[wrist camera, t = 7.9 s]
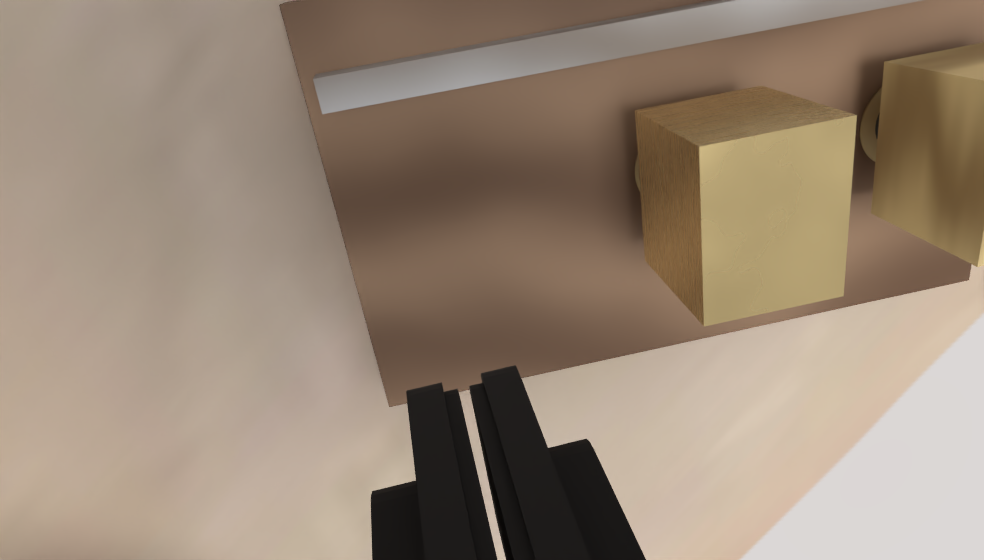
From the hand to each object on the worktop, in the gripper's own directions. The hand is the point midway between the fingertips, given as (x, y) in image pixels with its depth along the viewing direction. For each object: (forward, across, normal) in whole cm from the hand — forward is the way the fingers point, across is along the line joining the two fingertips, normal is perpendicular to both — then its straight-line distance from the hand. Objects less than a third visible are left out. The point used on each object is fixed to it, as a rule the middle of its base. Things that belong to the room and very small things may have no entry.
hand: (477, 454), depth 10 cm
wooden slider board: (+14, -9, +1) cm, 17 cm away
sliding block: (+12, -9, +1) cm, 15 cm away
